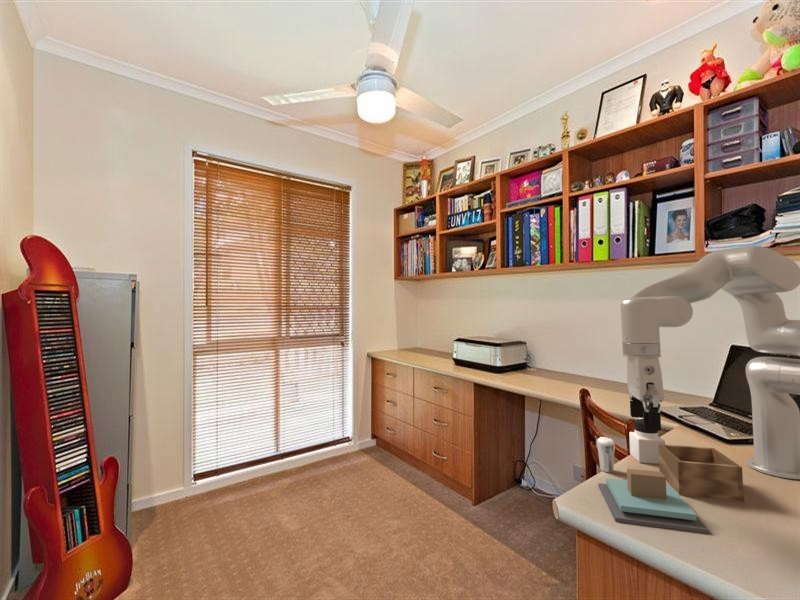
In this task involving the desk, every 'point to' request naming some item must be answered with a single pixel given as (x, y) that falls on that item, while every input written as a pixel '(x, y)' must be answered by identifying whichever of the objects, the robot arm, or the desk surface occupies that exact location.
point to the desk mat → (649, 516)
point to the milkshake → (606, 454)
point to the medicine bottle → (644, 443)
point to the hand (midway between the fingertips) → (645, 423)
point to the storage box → (701, 472)
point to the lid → (648, 495)
